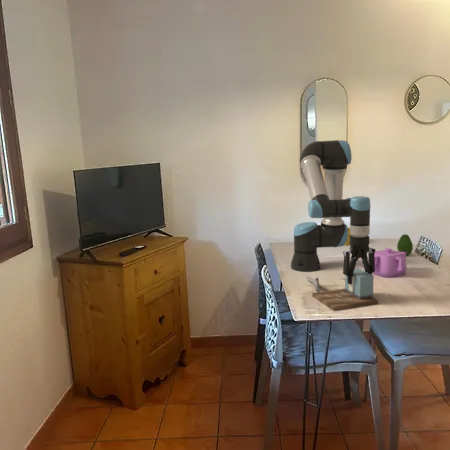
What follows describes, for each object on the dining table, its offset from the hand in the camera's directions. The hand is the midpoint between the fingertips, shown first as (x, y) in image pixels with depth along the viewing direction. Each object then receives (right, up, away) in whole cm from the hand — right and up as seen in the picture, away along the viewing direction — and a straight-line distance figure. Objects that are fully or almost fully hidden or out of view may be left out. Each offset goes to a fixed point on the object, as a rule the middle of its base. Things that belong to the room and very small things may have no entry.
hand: (358, 290), depth 176 cm
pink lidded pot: (+24, +3, +33) cm, 41 cm away
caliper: (-15, -1, +19) cm, 25 cm away
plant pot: (+22, +14, +95) cm, 98 cm away
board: (-6, -4, -1) cm, 7 cm away
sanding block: (0, -1, 0) cm, 1 cm away
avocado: (+45, +10, +63) cm, 78 cm away
